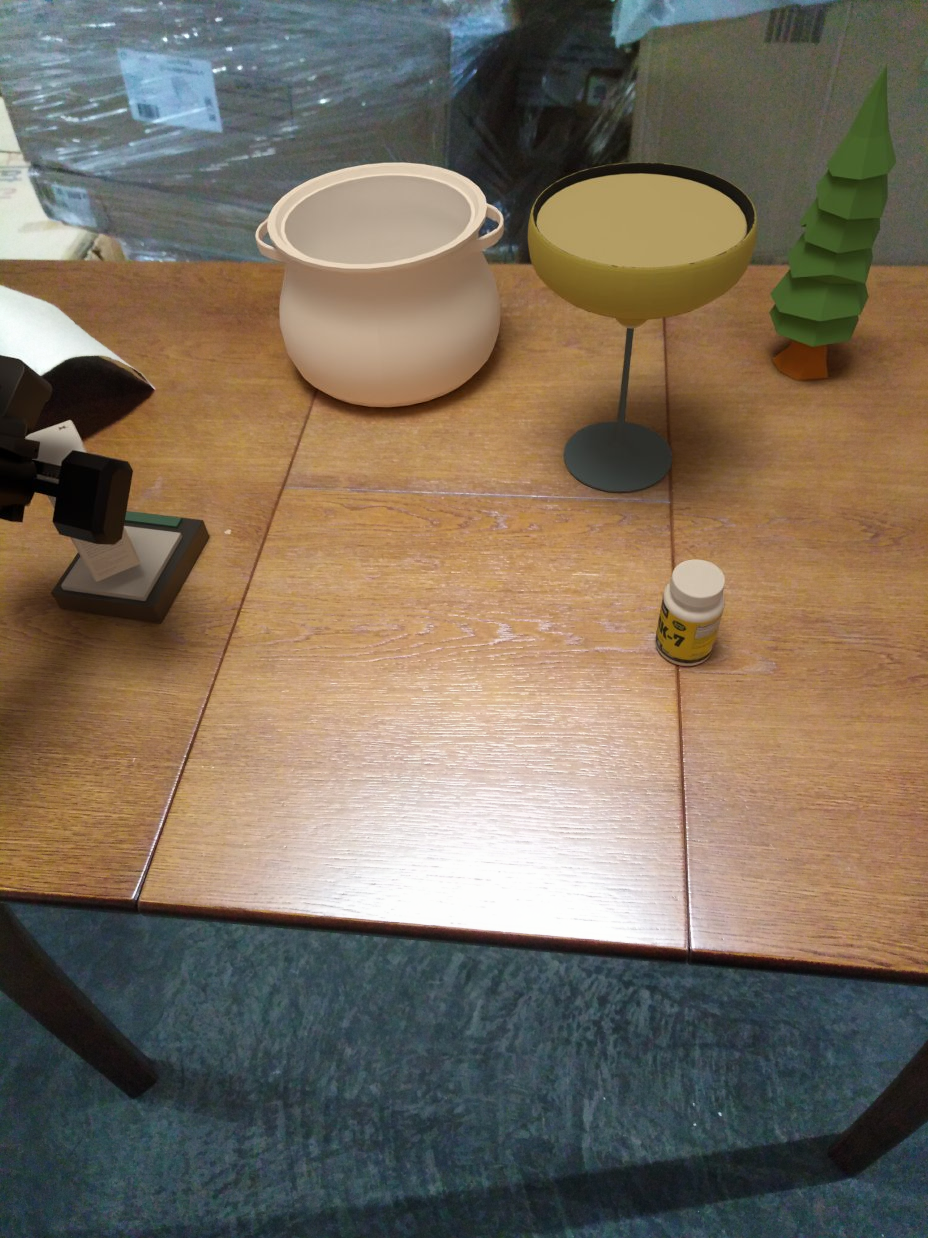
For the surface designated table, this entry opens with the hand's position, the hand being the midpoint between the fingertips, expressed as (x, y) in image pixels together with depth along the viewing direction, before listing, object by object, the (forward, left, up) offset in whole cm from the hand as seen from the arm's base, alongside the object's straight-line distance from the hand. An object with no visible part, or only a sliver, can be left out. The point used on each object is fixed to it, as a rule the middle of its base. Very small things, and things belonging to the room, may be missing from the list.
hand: (90, 487), depth 75 cm
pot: (+15, +38, -11) cm, 42 cm away
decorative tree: (+60, +43, -11) cm, 74 cm away
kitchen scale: (0, +1, -11) cm, 11 cm away
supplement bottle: (+50, +1, -11) cm, 51 cm away
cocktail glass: (+42, +24, -11) cm, 49 cm away
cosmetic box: (0, -1, -7) cm, 7 cm away
